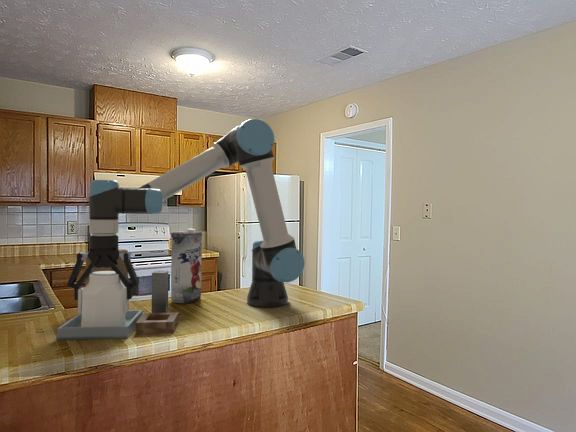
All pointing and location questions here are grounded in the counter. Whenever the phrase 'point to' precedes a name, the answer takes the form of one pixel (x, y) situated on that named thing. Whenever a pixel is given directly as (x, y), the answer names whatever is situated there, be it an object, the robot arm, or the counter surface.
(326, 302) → the counter surface
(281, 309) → the counter surface
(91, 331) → the tray
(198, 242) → the juice carton
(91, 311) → the jar
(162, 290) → the grey block
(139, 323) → the hollow square tube
